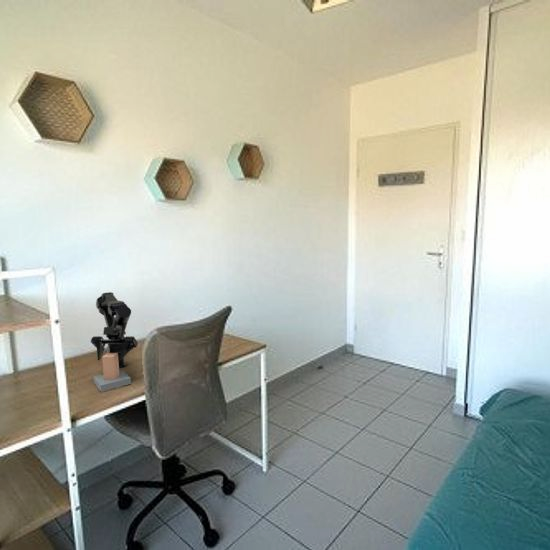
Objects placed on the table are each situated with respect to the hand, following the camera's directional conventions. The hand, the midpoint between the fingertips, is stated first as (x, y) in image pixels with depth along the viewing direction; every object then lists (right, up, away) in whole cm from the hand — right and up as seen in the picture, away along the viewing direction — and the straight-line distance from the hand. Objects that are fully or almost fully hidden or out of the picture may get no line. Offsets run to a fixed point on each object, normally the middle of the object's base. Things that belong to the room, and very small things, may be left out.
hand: (109, 360), depth 163 cm
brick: (0, -8, +2) cm, 8 cm away
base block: (0, -11, +3) cm, 11 cm away
